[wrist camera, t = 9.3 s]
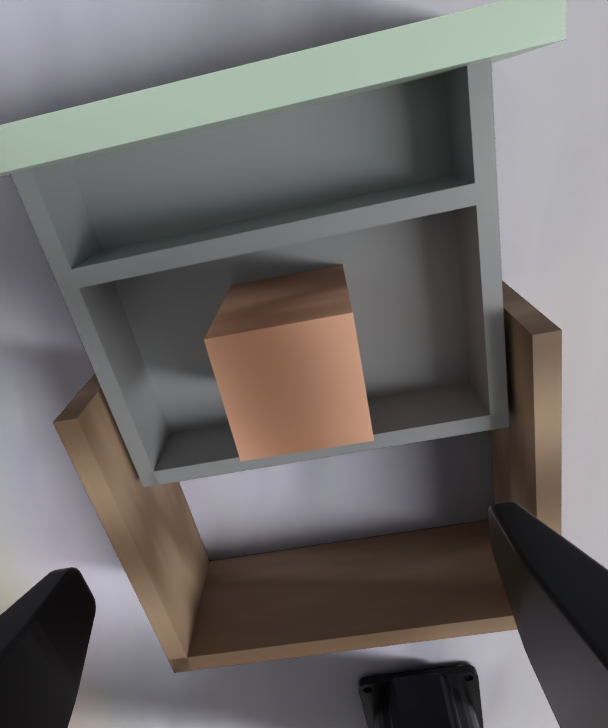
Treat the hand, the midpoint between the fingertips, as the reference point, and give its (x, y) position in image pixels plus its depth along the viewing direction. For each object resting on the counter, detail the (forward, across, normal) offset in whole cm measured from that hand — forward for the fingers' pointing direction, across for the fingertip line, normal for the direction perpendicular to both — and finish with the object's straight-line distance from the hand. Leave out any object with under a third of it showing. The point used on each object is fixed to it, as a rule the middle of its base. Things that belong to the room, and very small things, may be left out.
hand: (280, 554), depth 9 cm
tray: (+12, 0, -1) cm, 12 cm away
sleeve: (+12, 0, +6) cm, 13 cm away
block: (+11, 0, 0) cm, 11 cm away
